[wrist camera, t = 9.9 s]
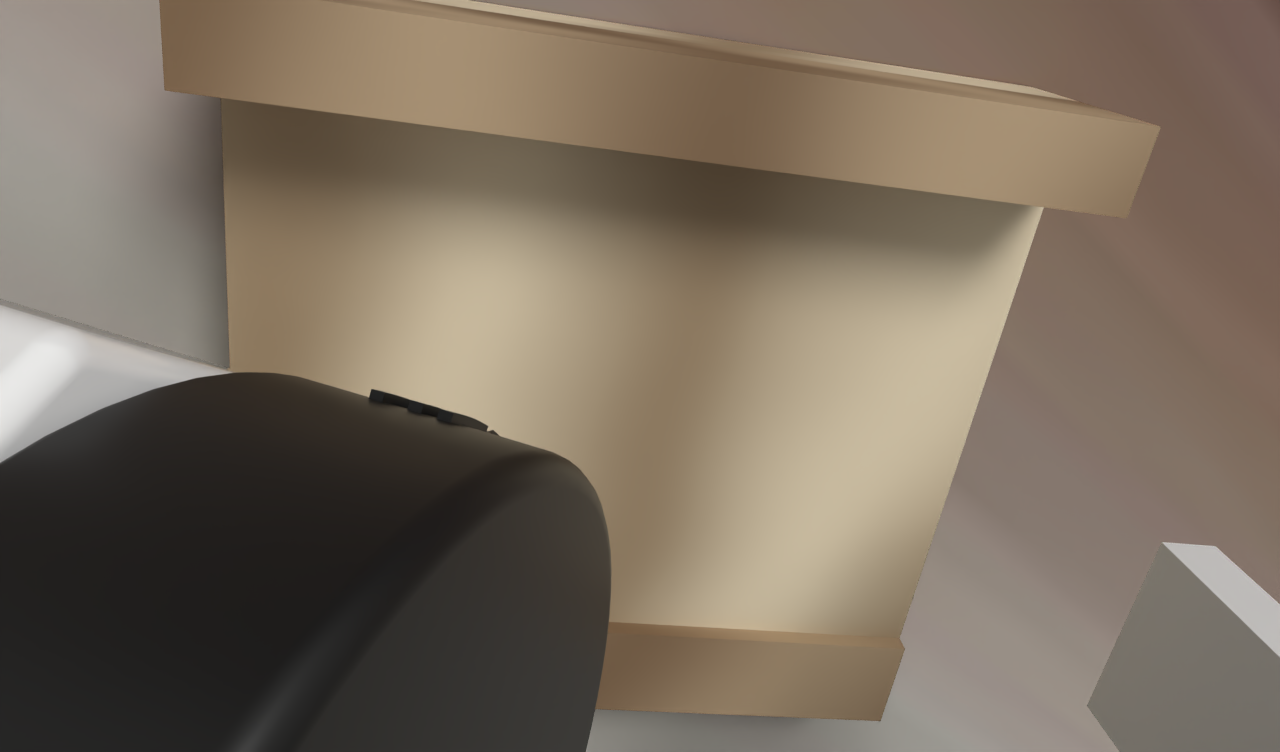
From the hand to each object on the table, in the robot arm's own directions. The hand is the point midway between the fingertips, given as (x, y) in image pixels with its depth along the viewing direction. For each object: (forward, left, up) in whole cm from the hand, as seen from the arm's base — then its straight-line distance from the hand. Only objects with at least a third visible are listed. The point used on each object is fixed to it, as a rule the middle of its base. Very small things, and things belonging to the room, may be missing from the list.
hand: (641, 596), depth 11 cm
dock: (0, 0, -6) cm, 6 cm away
